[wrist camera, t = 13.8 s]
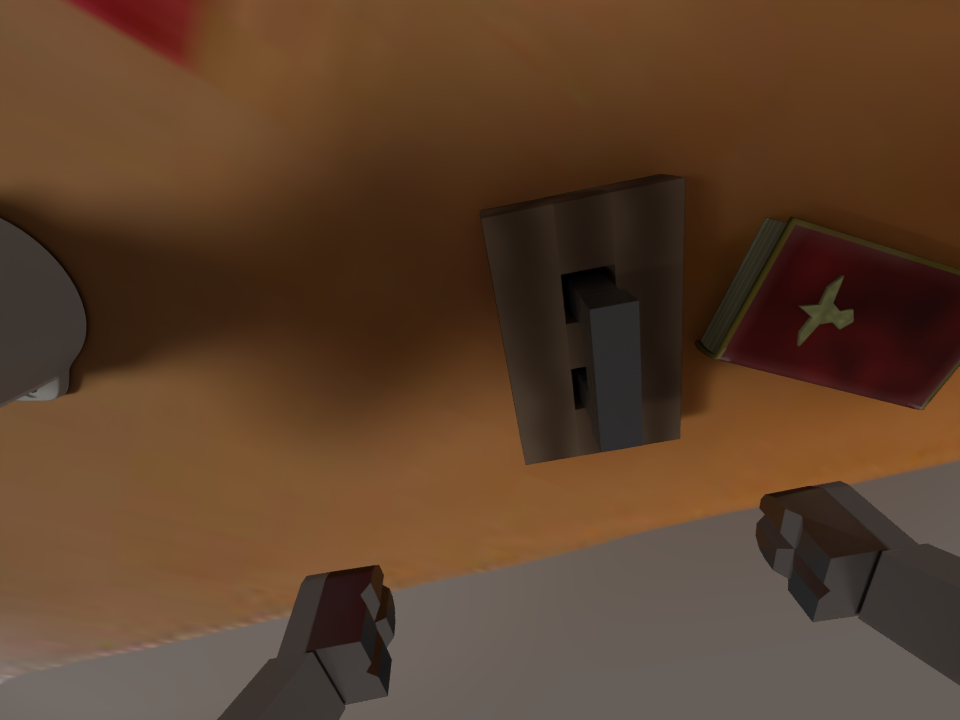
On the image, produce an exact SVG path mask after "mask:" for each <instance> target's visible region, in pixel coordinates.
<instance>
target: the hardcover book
mask: <svg viewBox="0 0 960 720" xmlns="http://www.w3.org/2000/svg"><path fill="white" fill-rule="evenodd" d="M695 345H696V346H697V348H698V349H699V350H700V351H701V352H702V353H704V354H705V355H706V356H708V357H711V358H713V359H717V360H721V361H725V362H729V363H733V364H737V365H741V366H745V367H749V368H753V369H757V370H761V371H765V372H769V373H773V374H777V375H781V376H785V377H789V378H793V379H797V380H801V381H805V382H809V383H813V384H817V385H821V386H825V387H829V388H833V389H837V390H841V391H845V392H849V393H853V394H857V395H861V396H865V397H869V398H873V399H877V400H881V401H885V402H889V403H893V404H897V405H901V406H905V407H909V408H913V409H917V410H923V409H924V408H925V407H926V406H927V404H928V403H929V402H930V401H931V400H932V398H933V397H934V396H935V395H936V394H937V392H938V391H939V390H940V389H941V388H942V386H943V385H944V384H945V383H946V381H947V380H948V379H949V378H950V377H951V375H952V374H953V373H954V372H955V371H956V369H957V368H958V367H959V366H960V269H957V268H954V267H951V266H947V265H944V264H941V263H938V262H934V261H931V260H928V259H925V258H922V257H918V256H915V255H912V254H909V253H906V252H902V251H899V250H896V249H893V248H890V247H886V246H883V245H880V244H877V243H873V242H870V241H867V240H864V239H861V238H857V237H854V236H851V235H848V234H845V233H841V232H838V231H835V230H832V229H829V228H825V227H822V226H819V225H816V224H812V223H809V222H806V221H803V220H800V219H796V218H793V217H790V219H789V220H788V222H783V221H778V220H774V219H770V218H766V219H765V221H764V223H763V224H762V226H761V228H760V230H759V232H758V234H757V236H756V238H755V239H754V241H753V243H752V245H751V247H750V249H749V251H748V253H747V255H746V256H745V258H744V260H743V262H742V264H741V266H740V268H739V270H738V271H737V273H736V275H735V277H734V279H733V281H732V283H731V285H730V286H729V288H728V290H727V292H726V294H725V296H724V298H723V300H722V302H721V303H720V305H719V307H718V309H717V311H716V313H715V315H714V317H713V318H712V320H711V322H710V324H709V326H708V328H707V330H706V332H705V334H704V335H703V337H702V339H701V341H700V340H696V342H695Z"/></svg>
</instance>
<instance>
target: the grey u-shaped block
mask: <svg viewBox="0 0 960 720" xmlns="http://www.w3.org/2000/svg"><path fill="white" fill-rule="evenodd" d="M561 283H562V292H563V300H564V301H565V303H566V304H567V306H568V307H569V309H570V311H571V312H572V314H573V315H574V317H575V318H576V320H577V321H578V323H579V324H580V326H581V328H582V329H583V337H584V348H585V359H586V367H581V368H575V369H571V375H572V382H573V384H574V386H575V388H576V390H577V392H578V395H579V397H580V399H581V401H582V403H583V406H584V408H585V410H586V412H587V414H588V416H589V419H590V421H591V426H592V433H593V435H594V437H595V440H596V442H597V444H598V446H599V449H600V451H601V452H606V451H612V450H618V449H624V448H630V447H636V446H641V445H643V423H642V387H641V351H640V315H639V300H638V299H637V298H636V297H635V296H633V295H632V294H631V293H630V292H629V291H628V290H627V289H626V288H625V289H619V288H618V287H617V286H616V285H615V284H613V283H612V282H611V281H610V280H609V279H608V278H607V277H606V276H605V275H604V274H603V273H602V272H601V271H599V270H598V269H597V268H593V269H587V270H582V271H577V272H572V273H567V274H561Z"/></svg>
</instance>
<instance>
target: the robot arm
mask: <svg viewBox="0 0 960 720" xmlns="http://www.w3.org/2000/svg"><path fill="white" fill-rule="evenodd" d="M85 337H86V316H85V311H84V308H83V304H82V301H81V299H80V296H79V294H78V292H77V290H76V288H75V286H74V284H73V283H72V281H71V279H70V278H69V276H68V275H67V273H66V272H65V271H64V269H63V268H62V267H61V265H60V264H59V263H58V262H57V261H56V260H55V259H54V257H53V256H52V255H51V254H50V253H49V252H48V251H47V250H46V249H45V248H43V247H42V246H41V245H40V244H39V243H38V242H37V241H35V240H34V239H33V238H32V237H30V236H29V235H28V234H26V233H25V232H23V231H22V230H20V229H19V228H17V227H16V226H14V225H12V224H11V223H9V222H7V221H5V220H3V219H1V218H0V408H1V407H3V406H5V405H7V404H9V403H11V402H13V401H39V400H54V399H56V398H58V397H60V396H62V395H64V394H66V393H67V391H68V388H69V369H70V366H71V364H72V363H73V361H74V360H75V358H76V357H77V356H78V354H79V353H80V351H81V349H82V347H83V344H84V341H85ZM759 508H760V509H761V511H762V512H763V513H764V514H765V515H764V516H763V517H762V518H761V519H760V520H759V522H758V523H757V526H756V539H757V542H758V546H759V549H760V551H761V553H762V554H763V557H764V558H765V560H766V561H767V562H768V564H769V565H770V567H771V568H772V569H773V570H774V571H776V572H777V573H779V574H781V575H783V576H784V577H786V578H788V591H789V592H790V593H791V594H792V596H793V597H794V598H795V600H796V601H797V602H798V603H799V605H800V606H801V607H802V609H803V610H804V611H805V613H806V614H807V615H808V617H809V618H810V619H811V620H812V621H813V622H817V621H824V620H831V619H838V618H845V617H852V616H859V617H858V618H859V619H860V620H862V621H863V622H865V623H866V624H868V625H869V626H871V627H872V628H874V629H875V630H877V631H878V632H880V633H881V634H883V635H884V636H886V637H887V638H889V639H890V640H892V641H893V642H895V643H896V644H898V645H899V646H901V647H903V648H904V649H905V650H907V651H908V652H910V653H912V654H913V655H915V656H916V657H918V658H919V659H921V660H922V661H924V662H925V663H927V664H928V665H930V666H931V667H933V668H934V669H936V670H937V671H939V672H940V673H942V674H943V675H945V676H946V677H948V678H949V679H951V680H952V681H954V682H955V683H957V684H958V685H960V557H958V556H956V555H953V554H951V553H948V552H946V551H944V550H941V549H939V548H937V547H934V546H932V545H929V544H921V545H919V544H918V543H916V542H915V541H914V540H913V539H912V538H911V537H909V536H908V535H907V534H906V533H905V532H903V531H902V530H901V529H900V528H899V527H898V526H896V525H895V524H894V523H893V522H892V521H891V520H889V519H888V518H887V517H886V516H885V515H883V514H882V513H881V512H880V511H878V509H876V508H875V507H874V506H873V505H872V504H871V503H869V502H868V501H867V500H866V499H865V498H863V497H862V496H861V495H860V494H859V493H858V492H856V491H855V490H854V489H853V488H852V487H851V486H849V485H848V484H846V483H843V482H841V481H837V482H831V483H826V484H820V485H815V486H806V487H801V488H796V489H791V490H786V491H781V492H775V493H770V494H765V495H764V496H763V497H762V499H761V502H760V507H759ZM383 578H384V574H383V572H382V570H381V568H380V566H379V565H373V566H366V567H360V568H353V569H346V570H340V571H333V572H327V573H321V574H315V575H309V576H306V578H305V579H304V581H303V582H302V584H301V586H300V589H299V592H298V595H297V598H296V601H295V604H294V607H293V610H292V613H291V616H290V619H289V622H288V625H287V628H286V631H285V634H284V637H283V641H282V644H281V647H280V650H279V653H278V656H277V658H274V659H269V660H268V662H267V663H266V664H265V665H264V666H263V667H262V668H261V670H260V671H259V672H258V673H257V674H256V675H255V677H254V678H253V679H252V680H251V681H250V682H249V684H248V685H247V686H246V687H245V688H244V689H243V690H242V692H241V693H240V694H239V695H238V696H237V697H236V699H235V700H234V701H233V702H232V703H231V705H230V706H229V707H228V708H227V709H226V710H225V711H224V713H223V714H222V715H221V716H220V717H219V718H218V719H217V720H339V719H340V717H341V715H342V713H343V712H344V710H345V705H347V704H351V703H357V702H362V701H367V700H371V699H376V698H381V697H386V696H388V689H389V680H390V671H391V662H392V659H391V657H390V655H389V652H388V650H387V646H388V645H389V643H390V642H391V640H392V639H393V638H394V633H395V632H394V631H395V607H394V601H393V596H392V594H391V591H390V589H389V588H387V587H386V586H384V585H383Z"/></svg>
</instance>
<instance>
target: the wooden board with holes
mask: <svg viewBox="0 0 960 720" xmlns="http://www.w3.org/2000/svg"><path fill="white" fill-rule="evenodd" d="M684 213H685V178H684V177H677V176H671V175H664V174H659V175H654V176H649V177H644V178H639V179H634V180H629V181H624V182H620V183H615V184H610V185H605V186H600V187H595V188H590V189H585V190H580V191H575V192H570V193H565V194H560V195H555V196H550V197H545V198H540V199H535V200H530V201H525V202H521V203H516V204H511V205H506V206H501V207H496V208H491V209H486V210H481V211H480V217H481V222H482V228H483V233H484V239H485V244H486V250H487V256H488V261H489V267H490V272H491V278H492V283H493V289H494V294H495V300H496V305H497V311H498V317H499V322H500V328H501V333H502V339H503V344H504V350H505V355H506V361H507V366H508V372H509V378H510V383H511V389H512V394H513V400H514V405H515V411H516V416H517V422H518V427H519V433H520V438H521V444H522V449H523V454H524V459H525V464H526V465H529V464H535V463H541V462H547V461H552V460H558V459H564V458H570V457H576V456H582V455H588V454H593V453H599V452H601V451H600V449H599V446H598V444H597V442H596V440H595V437H594V435H593V433H592V426H591V421H590V419H589V416H588V414H587V412H586V410H585V408H584V406H583V403H582V401H581V399H580V397H579V395H578V392H577V390H576V388H575V386H574V385H573V384H572V375H571V369H575V368H581V367H586V359H585V348H584V337H583V329H582V328H581V326H580V324H579V323H578V321H577V320H576V318H575V317H574V315H573V314H572V312H571V311H570V309H569V307H568V306H567V305H565V306H564V301H563V292H562V283H561V274H567V273H572V272H577V271H582V270H587V269H593V268H598V267H601V272H602V273H603V274H604V275H605V276H606V277H607V278H608V279H609V280H610V281H611V282H612V283H613V284H615V285H616V286H617V287H618V288H619V289H625V288H626V289H627V290H628V291H629V292H630V293H631V294H632V295H633V296H635V297H636V298H637V299H638V300H639V315H640V351H641V387H642V423H643V445H646V444H652V443H658V442H664V441H670V440H675V439H680V421H681V369H682V317H683V265H684Z"/></svg>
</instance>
